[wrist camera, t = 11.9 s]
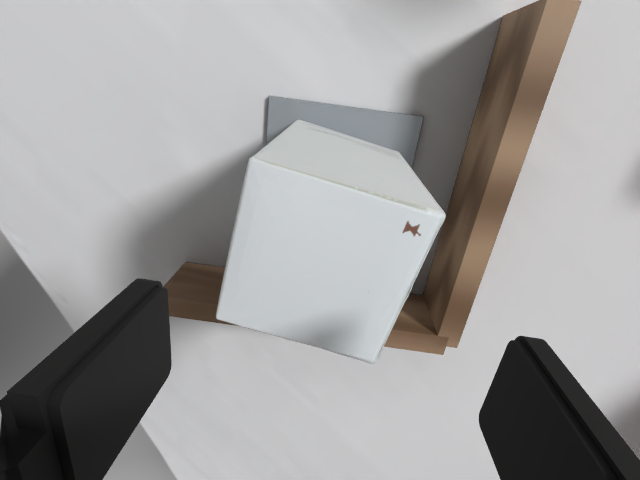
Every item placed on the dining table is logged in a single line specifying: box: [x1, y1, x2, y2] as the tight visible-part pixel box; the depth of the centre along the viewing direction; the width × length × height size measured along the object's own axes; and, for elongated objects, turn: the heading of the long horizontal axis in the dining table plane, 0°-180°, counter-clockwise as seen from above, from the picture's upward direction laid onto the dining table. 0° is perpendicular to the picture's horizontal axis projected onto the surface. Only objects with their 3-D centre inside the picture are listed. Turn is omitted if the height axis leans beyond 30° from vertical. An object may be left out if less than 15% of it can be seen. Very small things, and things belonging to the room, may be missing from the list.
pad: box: [266, 96, 423, 169], centre depth 25 cm, size 10×10×1 cm
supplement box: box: [216, 120, 446, 363], centre depth 19 cm, size 7×7×13 cm
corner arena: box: [163, 0, 581, 355], centre depth 23 cm, size 21×21×5 cm
